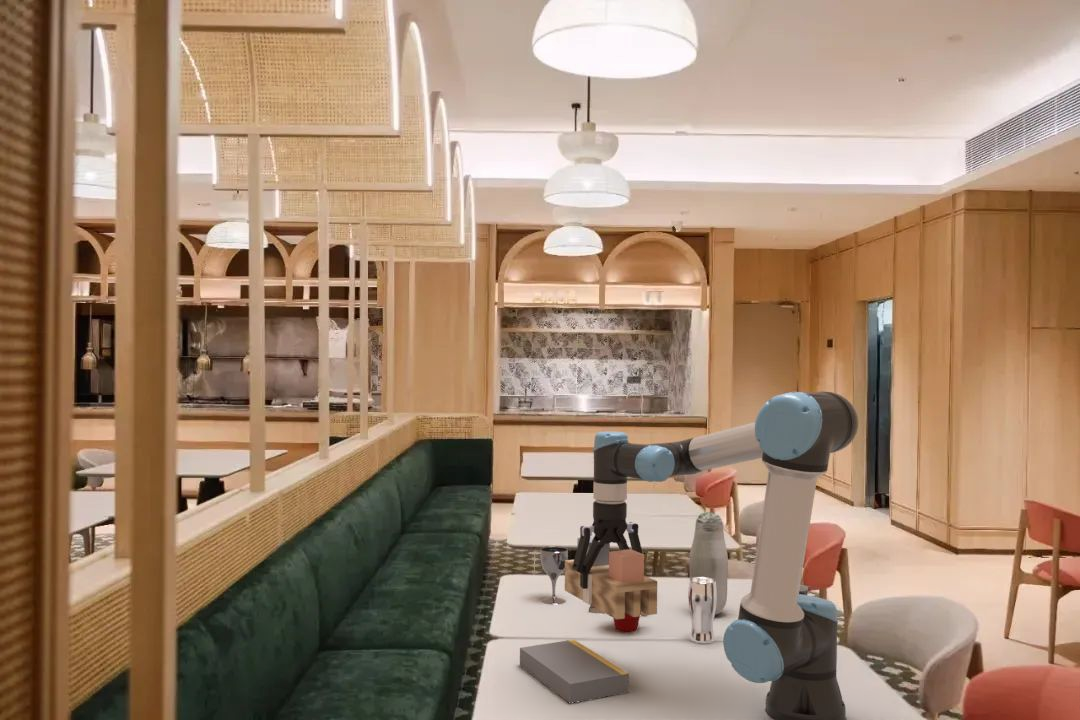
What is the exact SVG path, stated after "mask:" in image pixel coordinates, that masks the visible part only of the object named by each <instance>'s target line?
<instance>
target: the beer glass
mask: <svg viewBox="0 0 1080 720" xmlns="http://www.w3.org/2000/svg"><path fill="white" fill-rule="evenodd" d="M687 597H688V606H689V607H688V608H689V613H690V620H691V626H690V627H691V629H690V633H689V634H690V635H689V640H690V641H691V642H693V643H695V644H702V645H703V644H704V645H705V644H706V645H707V644H708V645H709V644H712V643H714V642H715V634H714V620H715V616H716V615H715V610H716V603H717V589H716V580H715V579H713V578H709V577H692V578H690V577H689V582H688V596H687Z"/></svg>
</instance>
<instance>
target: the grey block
mask: <svg viewBox="0 0 1080 720" xmlns="http://www.w3.org/2000/svg"><path fill="white" fill-rule="evenodd" d="M593 538H594V536H590V542H589V546H588V550H587V553H588V551H589V549H590V547H591V545H592V540H593ZM579 540H580V537H577V542H576V543H577V547H578V544H579ZM598 542H599V541H598ZM610 544H611V543H608V544H604V546H603V547H602V548H601V550H600V552H599V554H598V556H597V558H596V560H595V562H594V564H593V566H601V565H609V551H611V547H610V546H611V545H610ZM587 553H586V555H587Z"/></svg>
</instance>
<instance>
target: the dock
mask: <svg viewBox="0 0 1080 720" xmlns="http://www.w3.org/2000/svg"><path fill="white" fill-rule="evenodd" d="M519 667H521V668H522V669H524V670H525V671H527V672H528V673H529V674H530V675H532V676H533V677H534V678H536V679H537V680H538V681H539V682H541V683H542V684H544V685H545V686H546V687H548V689H550V691H551V690H552V692H554V693H555V694H556V695H557V696H559V695H560V696H561V697H560V696H559V697H560V698H562V699H563V698H564V699H565V700H564V699H563V700H564V701H566V700H567V701H568V702H570V703H572V702H577V701H582V700H587V701H590V700H589V699H592V700H595V699H594V698H598V699H600V698H599V697H603V698H606V697H605V696H608V697H610V696H609V695H613V696H616V695H615V694H618V695H622V694H621V693H623V694H626V693H627V692H629V691H630V689H629V687H630V684H629V683H630V681H629V680H630V673H629V672H628V671H626V670H624V669H622V668H621V667H619V665H616V664H615V663H613V662H611V661H609V660H608V659H606V658H604V656H601V655H600V654H598V653H596V652H595V651H593V650H592V649H590V648H589V647H587V646H585V645H584V644H583V643H580V642H578V641H577V640H576V639H567V640H561V641H555V642H554V641H553V642H548V643H542V644H535V645H529V646H522V647H519ZM627 694H628V693H627ZM567 701H566V702H567ZM568 702H567V703H568ZM582 702H583V701H582ZM570 703H569V704H570ZM577 703H578V702H577ZM572 704H573V703H572Z"/></svg>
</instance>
